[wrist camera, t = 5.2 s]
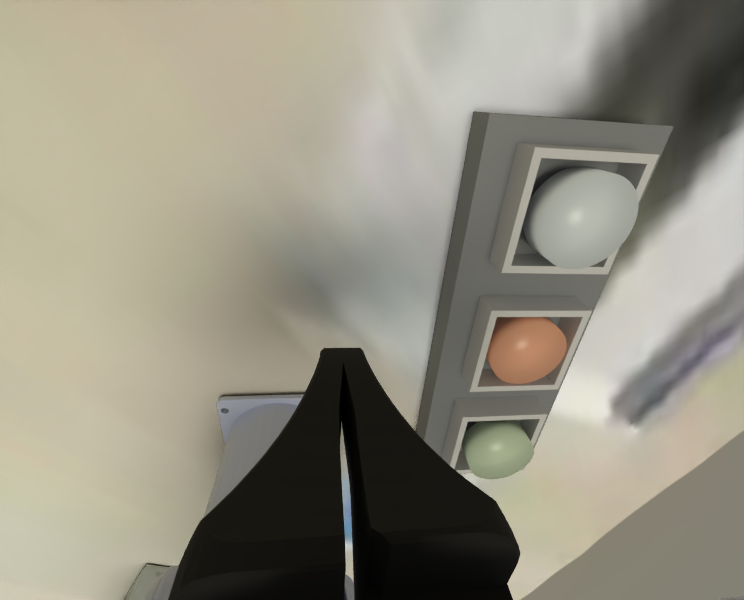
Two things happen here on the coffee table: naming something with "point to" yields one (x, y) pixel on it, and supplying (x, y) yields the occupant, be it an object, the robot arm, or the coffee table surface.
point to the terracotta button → (525, 348)
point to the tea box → (144, 582)
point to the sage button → (497, 448)
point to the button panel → (516, 267)
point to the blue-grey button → (580, 216)
